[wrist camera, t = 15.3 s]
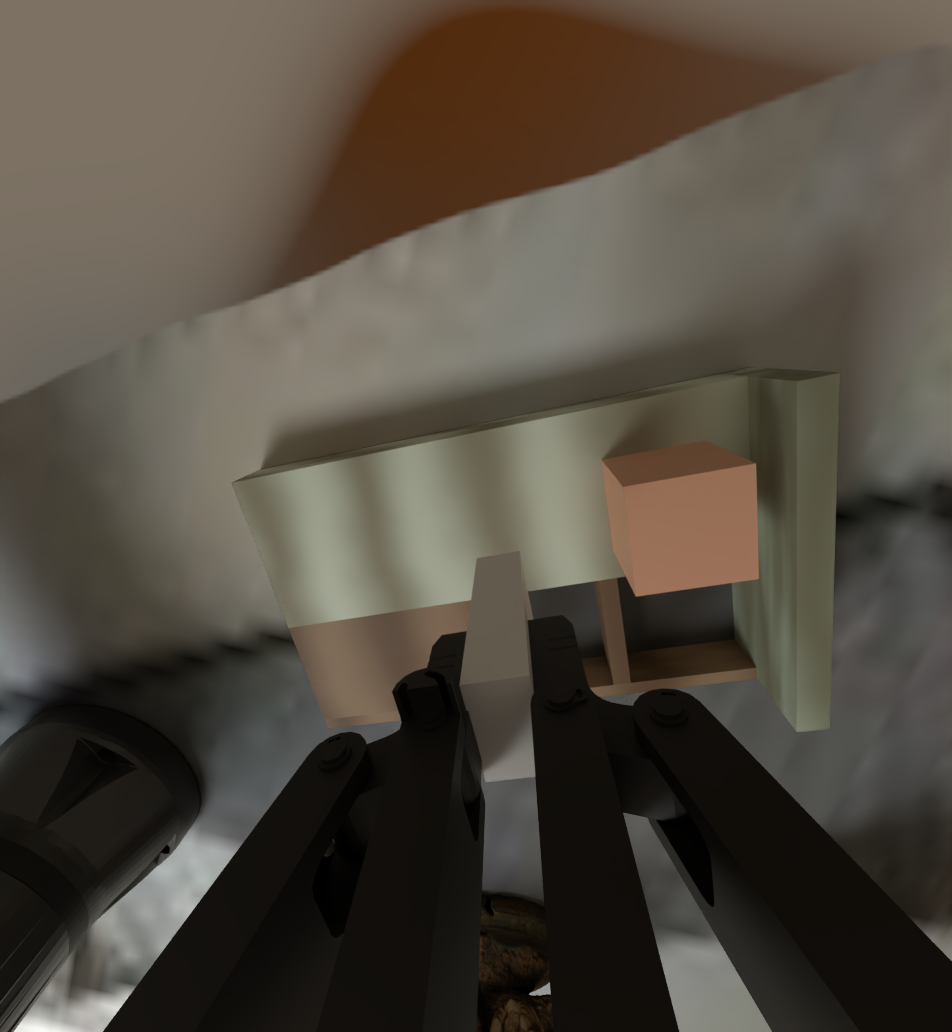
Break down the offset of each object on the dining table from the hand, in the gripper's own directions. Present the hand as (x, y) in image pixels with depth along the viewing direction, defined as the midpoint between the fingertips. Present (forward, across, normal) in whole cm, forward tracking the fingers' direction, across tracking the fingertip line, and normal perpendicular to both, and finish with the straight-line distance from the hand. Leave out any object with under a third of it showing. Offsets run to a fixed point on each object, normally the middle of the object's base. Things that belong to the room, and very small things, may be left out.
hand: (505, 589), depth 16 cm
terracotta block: (+9, +8, -1) cm, 12 cm away
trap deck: (+12, 0, -4) cm, 13 cm away
